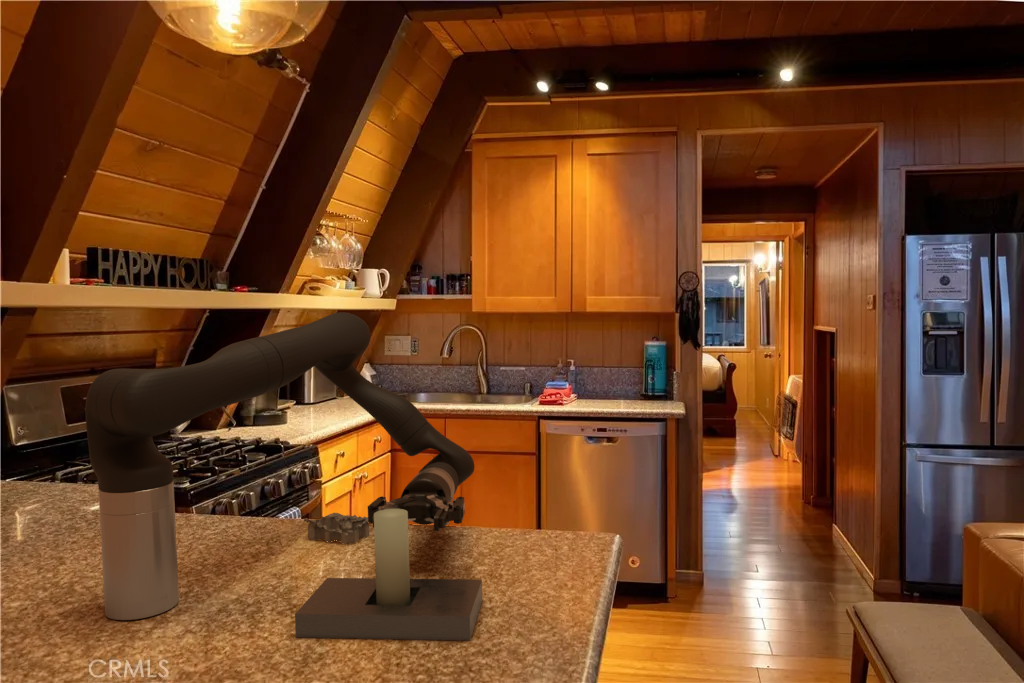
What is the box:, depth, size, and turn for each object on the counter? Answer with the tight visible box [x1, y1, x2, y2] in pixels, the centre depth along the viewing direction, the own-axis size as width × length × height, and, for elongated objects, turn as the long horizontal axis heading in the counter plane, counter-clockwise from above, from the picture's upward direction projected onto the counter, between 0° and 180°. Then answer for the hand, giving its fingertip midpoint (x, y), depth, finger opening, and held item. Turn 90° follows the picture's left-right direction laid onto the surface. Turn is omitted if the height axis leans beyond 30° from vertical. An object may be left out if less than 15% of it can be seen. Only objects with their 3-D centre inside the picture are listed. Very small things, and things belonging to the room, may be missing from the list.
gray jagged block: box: [303, 512, 370, 545], centre depth 131 cm, size 11×8×4 cm
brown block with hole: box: [294, 577, 484, 642], centre depth 96 cm, size 22×12×3 cm, turn 85°
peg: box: [373, 509, 411, 606], centre depth 96 cm, size 4×4×14 cm
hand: (406, 524), depth 104 cm, fingers open, 8 cm apart
